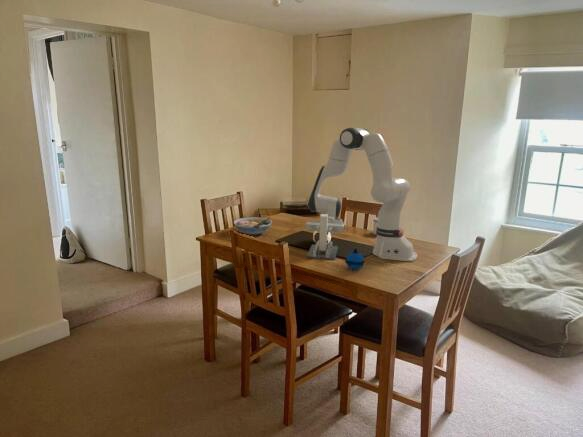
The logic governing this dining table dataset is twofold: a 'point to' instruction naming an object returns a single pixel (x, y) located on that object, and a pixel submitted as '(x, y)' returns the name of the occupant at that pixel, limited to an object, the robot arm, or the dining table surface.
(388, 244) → the robot arm
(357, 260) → the ornament
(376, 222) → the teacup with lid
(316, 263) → the dining table surface
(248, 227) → the ramen bowl
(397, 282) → the dining table surface
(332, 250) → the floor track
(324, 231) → the white rectangular block
